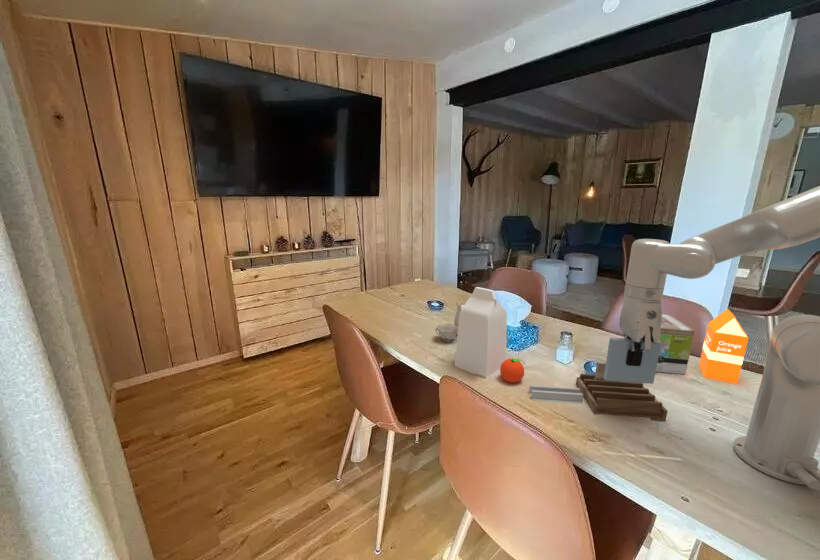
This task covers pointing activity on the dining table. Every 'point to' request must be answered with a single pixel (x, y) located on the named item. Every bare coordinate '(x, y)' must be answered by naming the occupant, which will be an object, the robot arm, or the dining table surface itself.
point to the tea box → (674, 345)
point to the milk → (481, 334)
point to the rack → (619, 396)
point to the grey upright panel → (624, 373)
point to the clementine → (512, 370)
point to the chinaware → (451, 328)
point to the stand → (556, 394)
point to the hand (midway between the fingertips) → (631, 363)
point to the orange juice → (723, 348)
